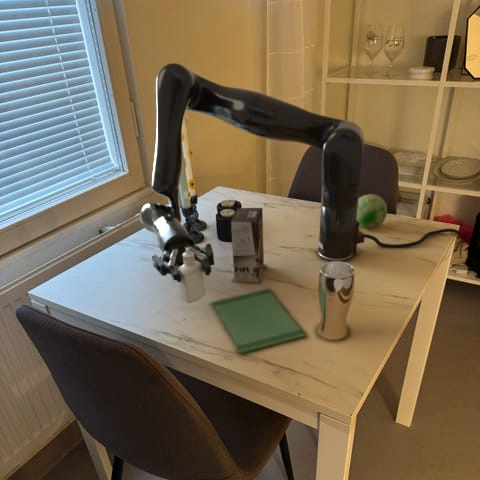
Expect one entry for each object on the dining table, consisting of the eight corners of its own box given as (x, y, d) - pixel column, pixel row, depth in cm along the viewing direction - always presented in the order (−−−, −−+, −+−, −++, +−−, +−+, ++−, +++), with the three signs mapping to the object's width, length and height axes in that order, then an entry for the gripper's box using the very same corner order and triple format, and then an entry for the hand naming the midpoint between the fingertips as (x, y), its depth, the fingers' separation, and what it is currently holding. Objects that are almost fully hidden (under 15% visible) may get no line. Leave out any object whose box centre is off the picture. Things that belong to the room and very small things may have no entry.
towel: (268, 290, 112) (268, 288, 111) (304, 336, 96) (305, 334, 96) (213, 303, 108) (212, 301, 108) (241, 353, 93) (241, 351, 92)
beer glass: (312, 323, 100) (315, 261, 91) (344, 320, 100) (350, 258, 91) (319, 343, 94) (323, 279, 85) (353, 339, 94) (360, 276, 86)
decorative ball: (370, 218, 143) (374, 186, 138) (391, 230, 136) (396, 197, 130) (344, 225, 140) (346, 193, 135) (364, 237, 133) (367, 204, 127)
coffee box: (259, 282, 115) (257, 222, 106) (233, 281, 116) (229, 221, 107) (264, 265, 122) (263, 207, 113) (241, 264, 123) (237, 206, 114)
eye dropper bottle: (209, 299, 101) (203, 250, 94) (184, 305, 99) (176, 255, 92) (203, 289, 104) (197, 241, 97) (179, 295, 103) (171, 246, 96)
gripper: (142, 233, 105) (156, 266, 92) (202, 221, 108) (225, 251, 95) (147, 262, 109) (162, 298, 96) (205, 250, 113) (227, 282, 100)
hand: (193, 274), depth 96 cm, fingers closed on eye dropper bottle, 5 cm apart
